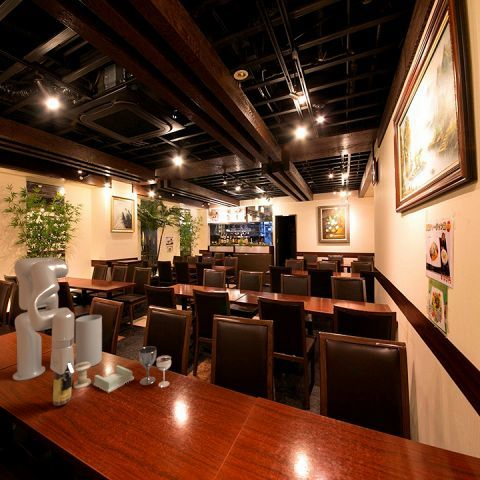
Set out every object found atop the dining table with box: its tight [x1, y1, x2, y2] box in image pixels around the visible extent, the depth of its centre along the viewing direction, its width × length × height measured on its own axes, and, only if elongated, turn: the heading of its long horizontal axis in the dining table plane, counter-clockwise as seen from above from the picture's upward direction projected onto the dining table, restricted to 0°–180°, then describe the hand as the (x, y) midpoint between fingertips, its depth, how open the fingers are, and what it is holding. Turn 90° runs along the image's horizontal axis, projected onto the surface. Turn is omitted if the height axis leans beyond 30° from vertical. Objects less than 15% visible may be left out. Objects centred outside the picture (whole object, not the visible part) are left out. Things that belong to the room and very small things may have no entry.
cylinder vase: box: [75, 314, 103, 368], centre depth 140 cm, size 12×12×25 cm
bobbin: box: [72, 362, 92, 389], centre depth 119 cm, size 7×7×9 cm
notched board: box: [93, 364, 135, 394], centre depth 121 cm, size 12×13×4 cm
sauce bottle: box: [52, 369, 73, 407], centre depth 104 cm, size 7×6×20 cm
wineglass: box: [155, 355, 172, 388], centre depth 119 cm, size 7×7×12 cm
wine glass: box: [138, 345, 157, 386], centre depth 122 cm, size 8×8×15 cm
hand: (62, 385), depth 104 cm, fingers closed on sauce bottle, 6 cm apart
